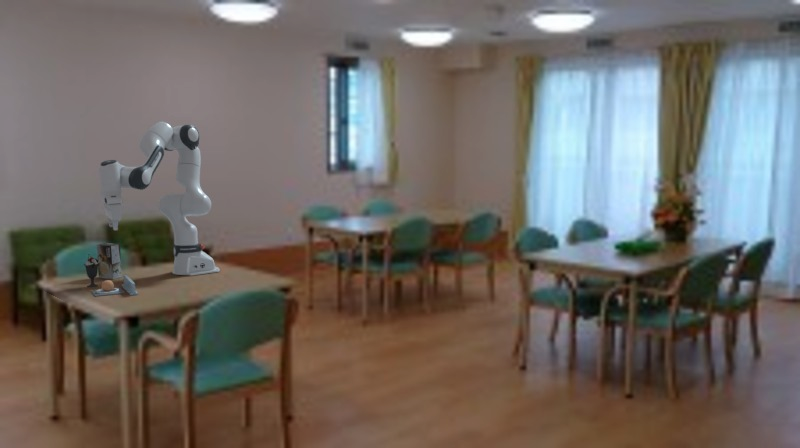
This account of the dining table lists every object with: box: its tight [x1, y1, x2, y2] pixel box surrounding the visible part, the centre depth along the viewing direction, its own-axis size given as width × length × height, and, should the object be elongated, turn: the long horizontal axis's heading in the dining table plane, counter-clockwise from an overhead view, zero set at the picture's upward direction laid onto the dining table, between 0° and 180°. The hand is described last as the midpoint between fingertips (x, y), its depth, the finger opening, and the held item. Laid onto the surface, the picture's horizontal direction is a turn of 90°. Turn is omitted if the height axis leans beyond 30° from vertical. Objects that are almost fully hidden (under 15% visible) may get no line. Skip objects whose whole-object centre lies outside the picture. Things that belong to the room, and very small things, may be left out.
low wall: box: [121, 274, 139, 296], centre depth 334 cm, size 3×22×5 cm, turn 29°
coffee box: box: [96, 242, 123, 280], centre depth 361 cm, size 9×6×16 cm
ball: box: [101, 279, 115, 292], centre depth 330 cm, size 5×5×5 cm
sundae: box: [83, 254, 99, 288], centre depth 342 cm, size 7×7×15 cm
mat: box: [90, 287, 126, 297], centre depth 330 cm, size 12×12×1 cm
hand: (113, 228), depth 337 cm, fingers open, 8 cm apart
